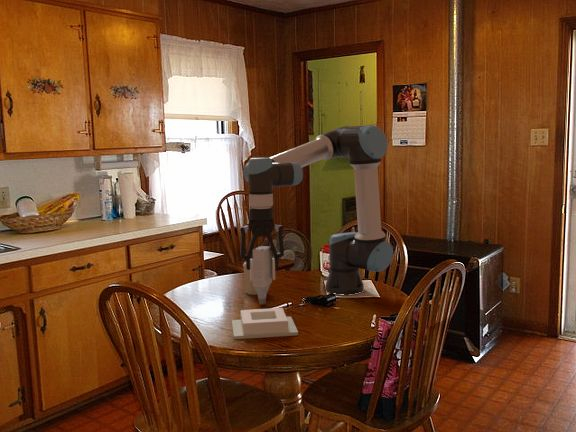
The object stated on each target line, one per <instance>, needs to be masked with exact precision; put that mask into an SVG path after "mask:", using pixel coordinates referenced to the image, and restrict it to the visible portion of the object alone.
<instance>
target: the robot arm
mask: <svg viewBox="0 0 576 432" xmlns="http://www.w3.org/2000/svg"><path fill="white" fill-rule="evenodd" d="M387 150H388V139H387V136H386V134H385V132H384V131H383V130H382V129H381V128H380V127H378V126H377V125H376V126H375V125H366V124H364V125H345V126H340V127H337V128H334V129H331V130H330V131H327V132H324V133H321V134H319V135H318V136H317V135H316V136H315V139H313V140H311V141H309V142H306V143H303V144H301V145H299V146H295V147H293V148H291V149H287V150H286V151H283V152H280V153H278V154H275V155H273V156H270V157H251V158H249V160H248V162H247V163H246V164H245V165H244V167H243V168H242V169H243V170H242V173H243V174H242V175H243V178H244V180H245V181H246V182H247V183H248V206H249V207H250V208H249V209H248V215H249V217H248V218H249V220H248V223H247V225H244V226H242V225H241V226H240V227H239V230H240V233H241V234H240V235H241V237H240V252H239V253H240V254H239V255H240V258H241V259H244V260H245V262H246V268H247V270H250V280H251V281H253V258H251V257H252V256H253V249H255V245H256V241H257V239H258V238H261V237H265V238H267V242H268V244H269V247H271V250H272V255H273V257H272V281H274V280H276V269H279V259H280V258H282V257H284V255H285V251H284V243H283V242H284V241H283V230H284V226H283V225H282V224H275V221H274V208H273V206H274V196H273V195H274V192H273V190H274V188H278V187H292V186H297V185H299V184H300V183H301V182H302V181H303V178H304V171H303V168H304V167H306V166H309V165H312V164H314V163H316V162H319V161H321V160H323V161H328V160H331V159H334V158H335V159H336V158H347V159H348V164H349V166H350V167H352V168H353V175H354V190H355V203H356V204H355V205H356V206H355V207H356V217H357V231H351V232H342V233H341V232H340V233H335V234H332V235H331V236H330V237H329V245H328V247H329V248H328V249H329V251H328V252H329V272H328V275H327V280H326V282H325V292H326V291H327V293H328V292H329V293H328V294H330V293H336V294H344V295H343V296H350V295H349V294H355V293H359V292H362V291H363V290H364V282H363V279H362V275H361V274H360V273H361V272H360V269H361V270H366V271H369V272H377V273H380V272H383V271H385V270H387V268H388V267H389V266H390V264H391V263H392V260H393V257H394V248H393V245H392V244H391V242H389V241H387V238H386V237H387V235H386V233H385V232H384V231H383V230H382V222H381V219H382V218H381V206H380V205H381V204H380V188H379V172H378V171H379V170H378V169H379V168H378V167H379V166H380V164H381V163H382V158H384V156H385V155H386V151H387ZM274 229H275V231H276V232H277V235H276V236H277V242H278V243H277V245H278V252H277V249H276V246H275V244H274V241H273V238H272V235H271V234H272V232H273V231H274ZM248 230H249V231H250V232H251V233H252V235H251V239H250V242H249V246H248V248H247V252H246V239H247V238H246V236H247V235H246V234H247V233H248ZM245 252H246V254H245ZM363 292H364V291H363ZM363 292H362V293H363ZM359 294H360V293H359ZM355 295H356V294H355Z"/></svg>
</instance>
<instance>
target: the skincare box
mask: <svg viewBox="0 0 576 432" xmlns="http://www.w3.org/2000/svg"><path fill="white" fill-rule="evenodd" d="M272 255H273V252H272V250H271V247H270V245H268V246H265V245H261V246H258V247H256V248H255V247H254V248H253V251H252V260H253V286H255V287H266V286H267V285H269V284H270V285H271V284H273V279H272V258H273V256H272Z"/></svg>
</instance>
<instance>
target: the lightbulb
mask: <svg viewBox="0 0 576 432" xmlns="http://www.w3.org/2000/svg"><path fill="white" fill-rule="evenodd" d="M270 286H271V283H270V284H269V285H267V286H266V287H255V286H254V288H255V290H256V291H257V298H258V303H259V305H262V306H263V305H265V304H266V303H267V294H268V291H269V289H270Z"/></svg>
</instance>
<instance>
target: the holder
mask: <svg viewBox="0 0 576 432" xmlns="http://www.w3.org/2000/svg"><path fill="white" fill-rule="evenodd" d="M231 329H232V336H233V340H243V339H259V338H260V339H261V338H276V337H289V336H290V337H291V336H292V337H293V336H299V331H298V328H297V327H296V323H295V322H294V319H293V318H292V316H287V315H286V312H285V311H284V308H283V307H274V308H271V307H270V308H258V309H257V308H256V309H255V308H254V309H241V310H240V319H231Z"/></svg>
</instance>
